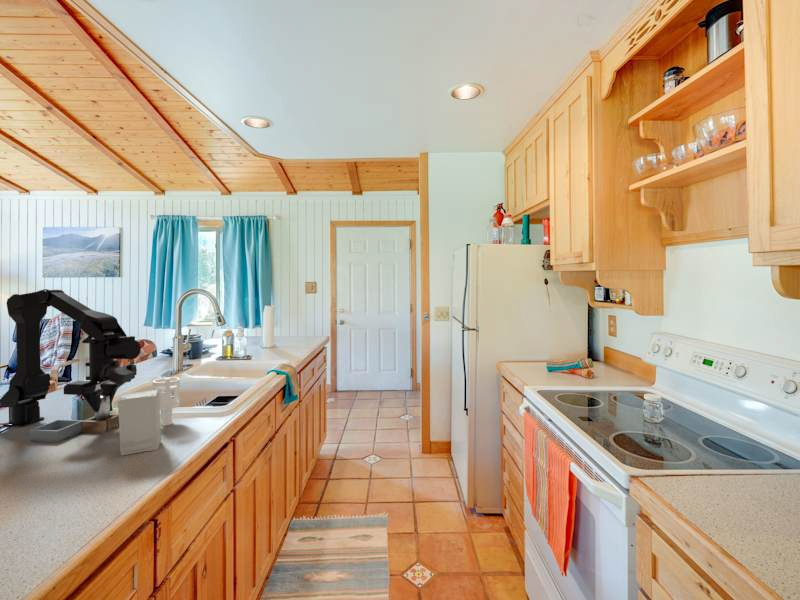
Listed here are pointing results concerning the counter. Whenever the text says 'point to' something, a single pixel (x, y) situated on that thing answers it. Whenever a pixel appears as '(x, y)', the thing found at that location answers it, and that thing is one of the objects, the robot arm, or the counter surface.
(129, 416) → the skincare box
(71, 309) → the robot arm
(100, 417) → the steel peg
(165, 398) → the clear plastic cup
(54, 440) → the tray
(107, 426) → the socket block
